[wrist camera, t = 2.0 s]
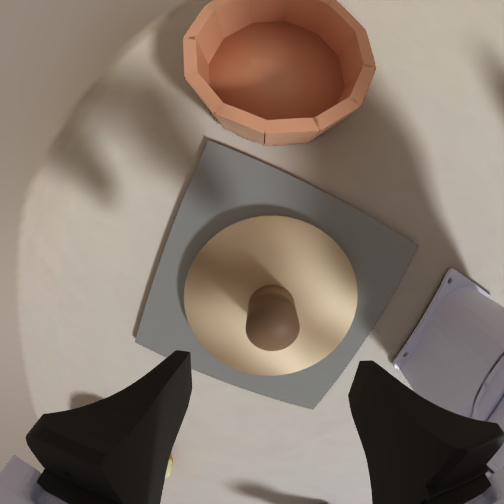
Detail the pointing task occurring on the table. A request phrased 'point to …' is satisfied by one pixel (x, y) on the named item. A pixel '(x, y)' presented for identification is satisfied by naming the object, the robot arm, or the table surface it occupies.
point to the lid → (270, 295)
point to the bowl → (278, 66)
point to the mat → (257, 204)
